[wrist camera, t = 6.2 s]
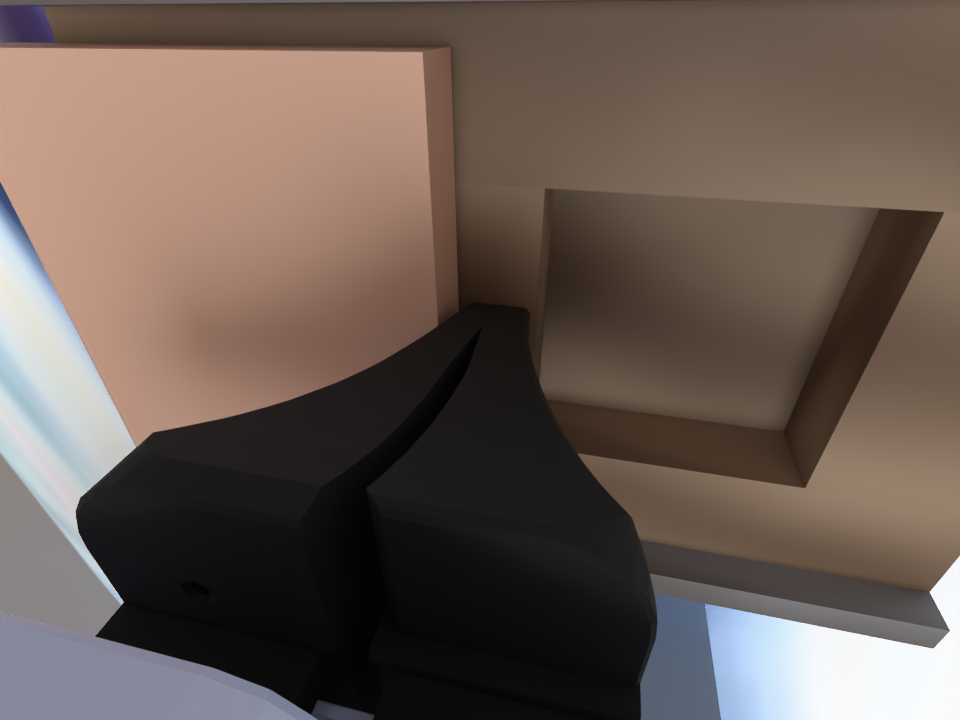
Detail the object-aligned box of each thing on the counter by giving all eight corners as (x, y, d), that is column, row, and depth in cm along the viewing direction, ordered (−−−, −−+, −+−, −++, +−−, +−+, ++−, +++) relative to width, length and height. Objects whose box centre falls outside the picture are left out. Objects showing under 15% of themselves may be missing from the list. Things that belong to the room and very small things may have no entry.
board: (874, 533, 15) (930, 650, 13) (272, 434, 19) (211, 507, 16) (1276, -76, 8) (1661, -127, 5) (126, -43, 11) (-39, -62, 8)
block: (678, 641, 21) (695, 834, 16) (577, 620, 21) (564, 798, 17) (701, 583, 18) (730, 786, 14) (588, 561, 19) (577, 747, 14)
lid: (464, 497, 15) (450, 540, 14) (189, 449, 16) (155, 483, 15) (451, 46, 9) (422, 51, 7) (12, 42, 10) (-69, 46, 9)
